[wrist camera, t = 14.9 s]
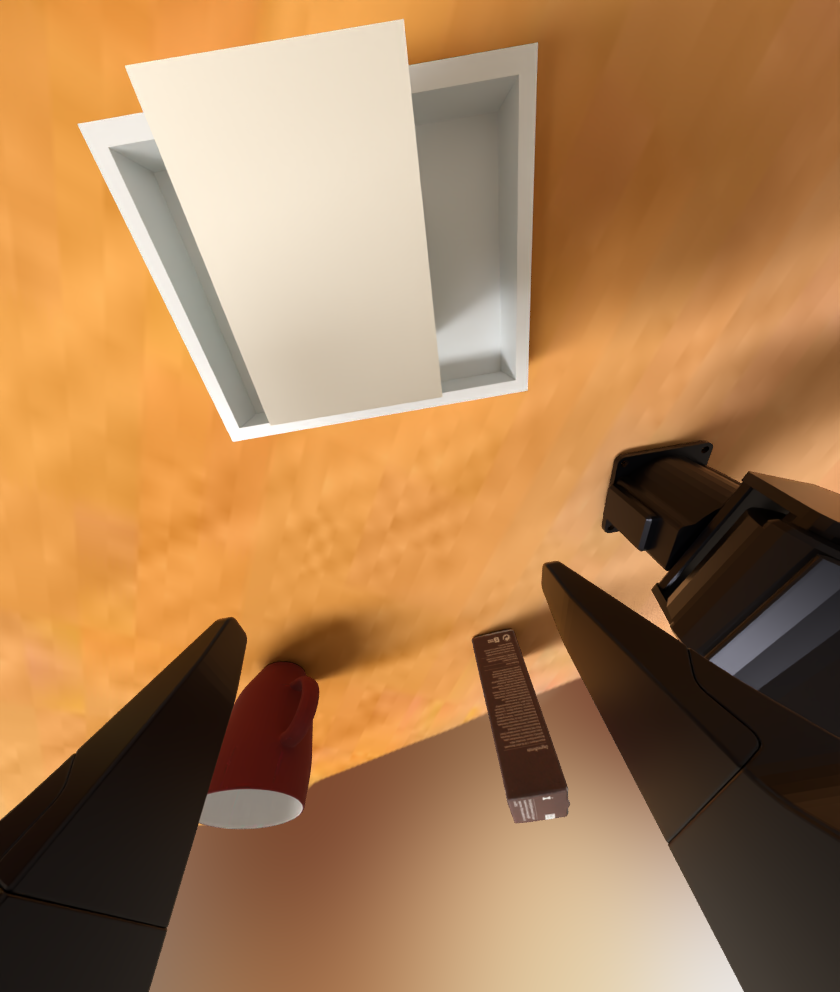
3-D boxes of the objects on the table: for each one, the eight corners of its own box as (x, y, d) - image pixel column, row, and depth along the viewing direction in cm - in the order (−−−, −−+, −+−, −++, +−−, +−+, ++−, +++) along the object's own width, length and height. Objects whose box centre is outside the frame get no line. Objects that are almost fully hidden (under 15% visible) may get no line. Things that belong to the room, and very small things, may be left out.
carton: (424, 365, 12) (443, 397, 8) (310, 384, 12) (269, 426, 8) (397, 147, 9) (404, 15, 5) (243, 172, 9) (122, 63, 5)
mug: (271, 621, 28) (219, 765, 19) (354, 649, 30) (341, 784, 22) (227, 682, 31) (168, 824, 23) (304, 701, 34) (277, 833, 26)
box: (467, 637, 31) (506, 802, 21) (513, 626, 31) (575, 789, 21) (476, 670, 34) (514, 828, 24) (518, 661, 34) (574, 816, 24)
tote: (507, 93, 13) (538, 42, 10) (508, 378, 19) (527, 390, 16) (139, 159, 13) (77, 124, 10) (254, 422, 19) (232, 441, 16)
